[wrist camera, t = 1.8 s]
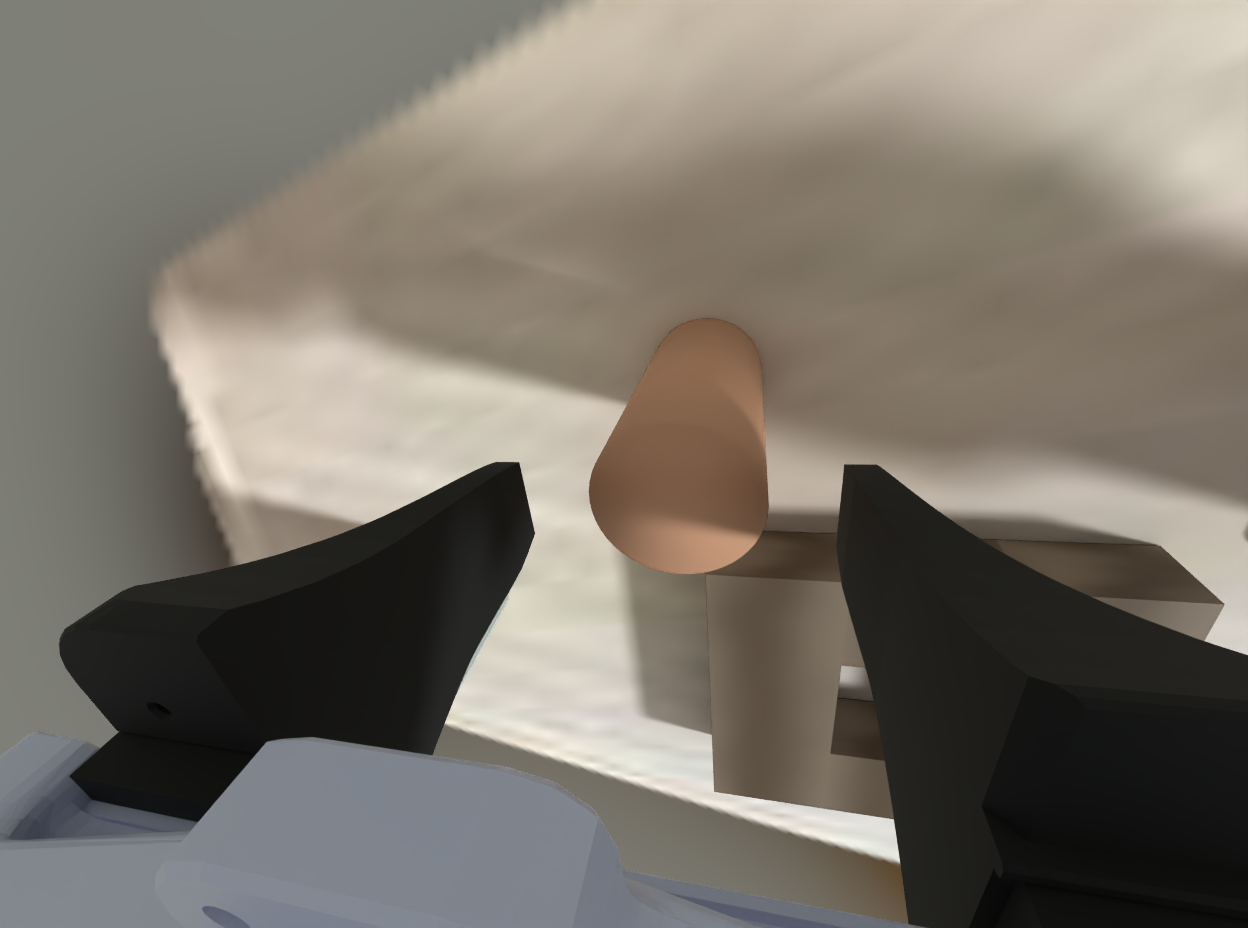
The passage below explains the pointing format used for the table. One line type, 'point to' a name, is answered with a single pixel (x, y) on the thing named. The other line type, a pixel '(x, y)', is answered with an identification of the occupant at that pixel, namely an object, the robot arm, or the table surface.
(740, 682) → the socket block
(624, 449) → the peg
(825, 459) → the table surface
